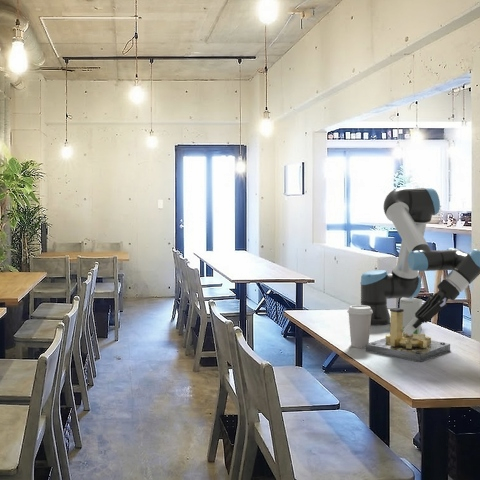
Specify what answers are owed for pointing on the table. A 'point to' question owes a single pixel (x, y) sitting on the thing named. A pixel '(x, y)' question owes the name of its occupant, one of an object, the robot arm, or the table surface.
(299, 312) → the table surface
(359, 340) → the coffee cup
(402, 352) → the steel plate
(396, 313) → the brass gear wheel
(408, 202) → the robot arm
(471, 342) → the table surface
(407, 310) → the skincare box
